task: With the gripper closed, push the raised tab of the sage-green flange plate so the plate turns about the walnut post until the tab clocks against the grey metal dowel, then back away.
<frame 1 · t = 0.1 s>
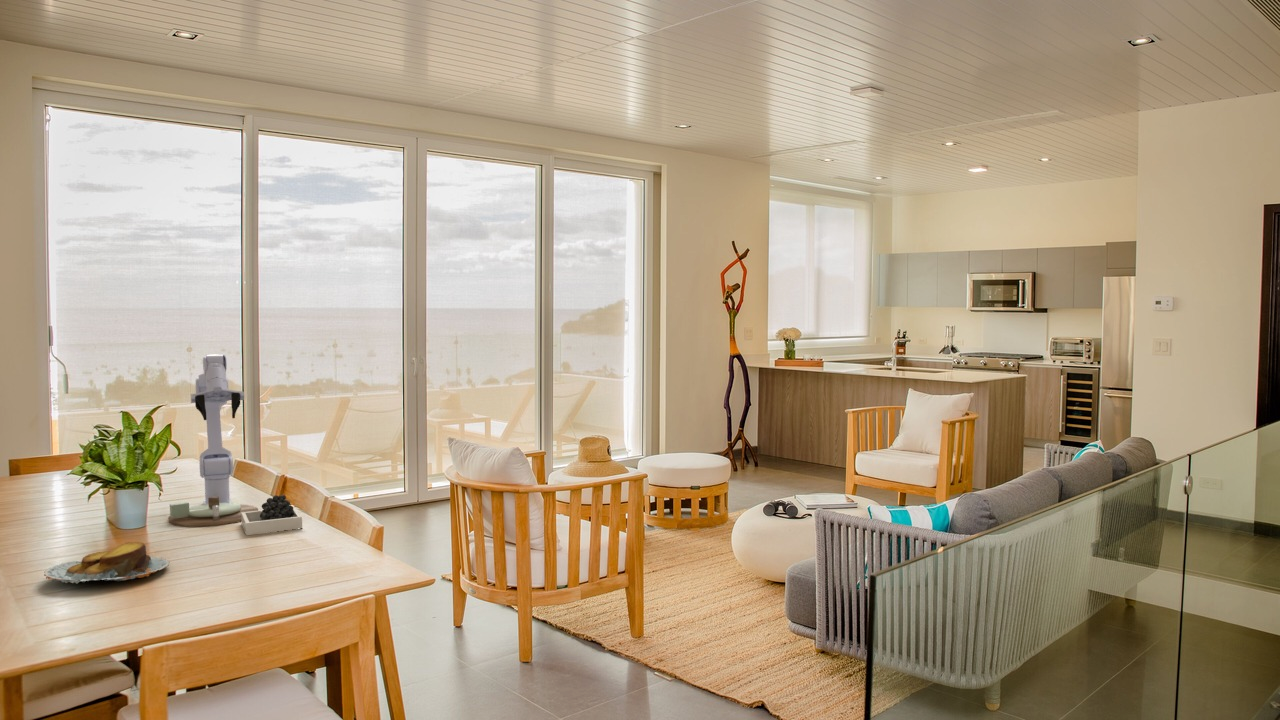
hand: (219, 417, 262), 32 cm above the table, fingers open, 7 cm apart
flange plate: (206, 506, 270), point 4 cm above the table, hinge at 0.0°
base board: (214, 516, 271), on the table
dowel: (216, 523, 263), resting on base board
food on plate: (108, 577, 212), on the table
fruit frame: (271, 526, 259), on the table
fruit: (272, 526, 260), on the table, touching fruit frame
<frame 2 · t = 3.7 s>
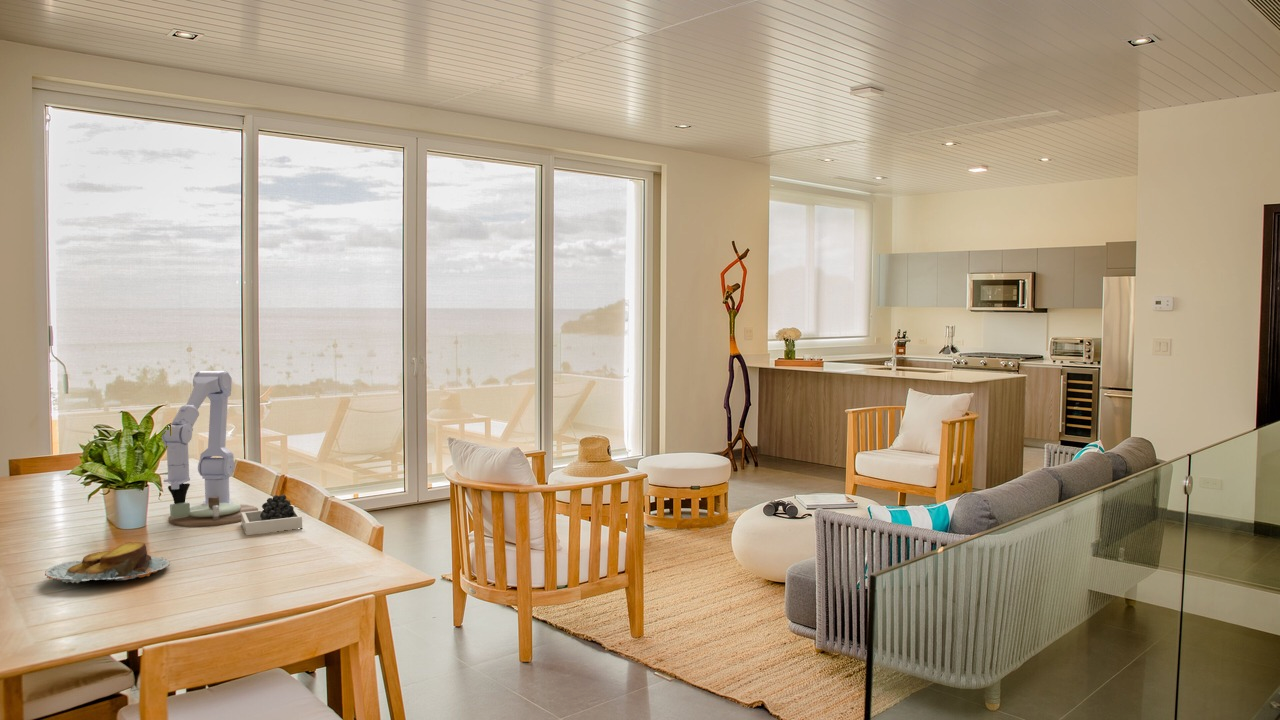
hand: (179, 508, 267), 4 cm above the table, fingers closed, pressing on flange plate
flange plate: (206, 506, 270), point 4 cm above the table, hinge at 2.9°, touching gripper
everything else where it was.
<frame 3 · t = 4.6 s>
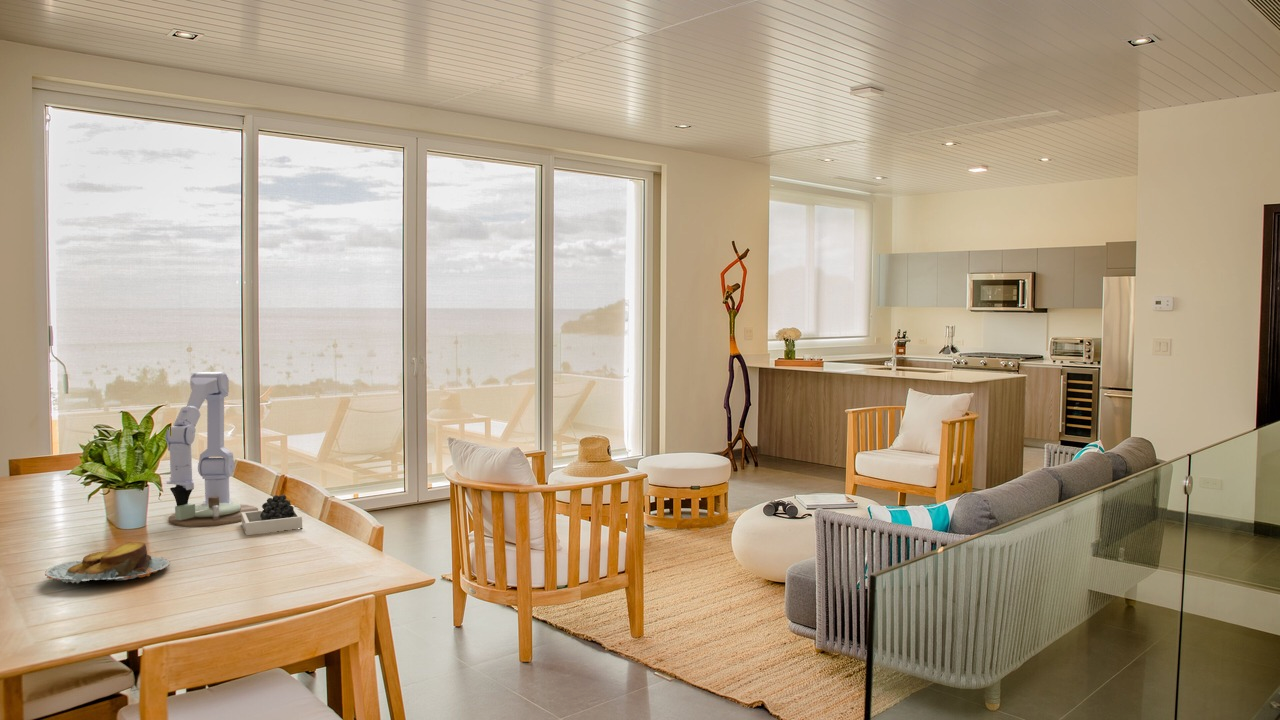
hand: (182, 510, 264), 4 cm above the table, fingers closed, pressing on flange plate
flange plate: (207, 506, 269), point 4 cm above the table, hinge at 23.1°, touching gripper
everything else where it was.
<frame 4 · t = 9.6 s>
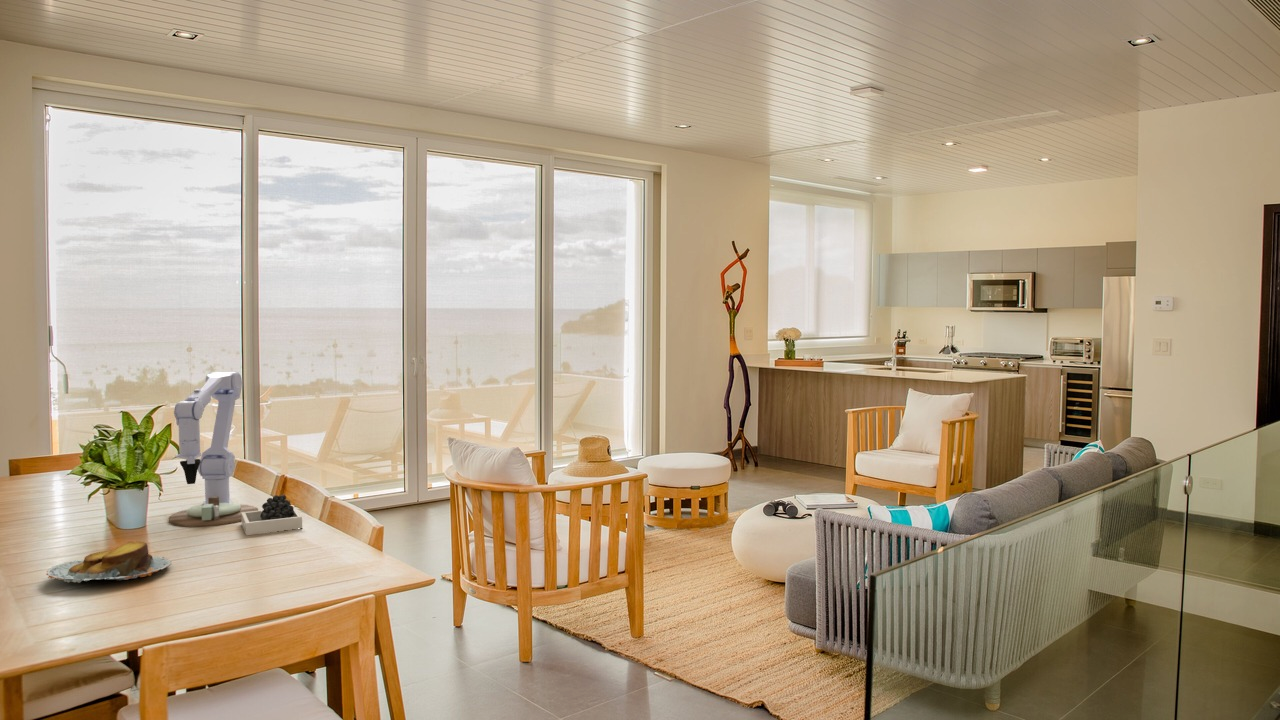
hand: (191, 483, 271), 10 cm above the table, fingers closed
flange plate: (212, 506, 269), point 4 cm above the table, hinge at 66.8°
everything else where it was.
at the end: flange plate at +67° (first picture: +0°) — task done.
